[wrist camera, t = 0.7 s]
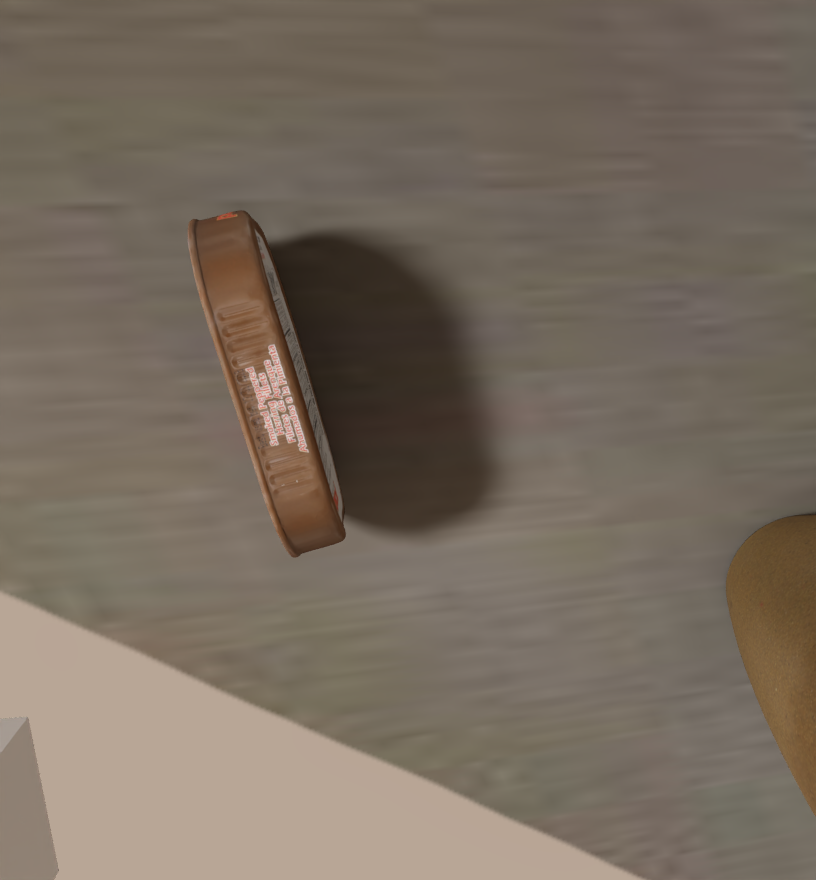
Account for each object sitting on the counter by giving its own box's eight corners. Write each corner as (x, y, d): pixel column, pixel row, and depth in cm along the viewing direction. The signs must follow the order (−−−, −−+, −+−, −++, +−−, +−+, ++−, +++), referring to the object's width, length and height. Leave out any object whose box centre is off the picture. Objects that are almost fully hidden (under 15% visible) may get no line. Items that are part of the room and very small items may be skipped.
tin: (208, 226, 34) (154, 217, 26) (273, 208, 34) (239, 194, 26) (300, 519, 38) (278, 593, 30) (359, 505, 38) (353, 574, 30)
